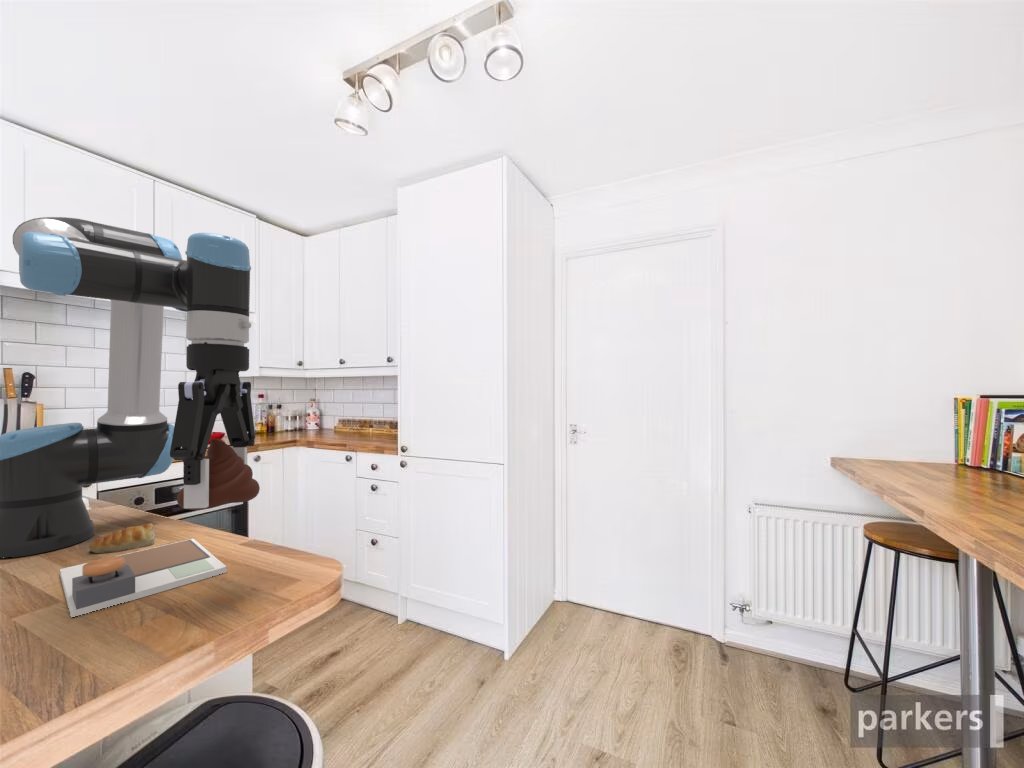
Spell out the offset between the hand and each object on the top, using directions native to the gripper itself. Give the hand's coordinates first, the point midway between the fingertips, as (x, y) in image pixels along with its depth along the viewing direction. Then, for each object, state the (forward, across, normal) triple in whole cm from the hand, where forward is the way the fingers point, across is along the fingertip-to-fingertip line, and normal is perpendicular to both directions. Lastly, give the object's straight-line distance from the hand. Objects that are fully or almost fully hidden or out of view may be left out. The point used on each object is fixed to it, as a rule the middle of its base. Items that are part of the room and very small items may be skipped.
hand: (218, 497), depth 61 cm
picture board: (+15, +10, +17) cm, 25 cm away
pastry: (+16, +24, +30) cm, 41 cm away
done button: (+13, +1, +16) cm, 21 cm away
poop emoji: (+1, 0, 0) cm, 1 cm away
